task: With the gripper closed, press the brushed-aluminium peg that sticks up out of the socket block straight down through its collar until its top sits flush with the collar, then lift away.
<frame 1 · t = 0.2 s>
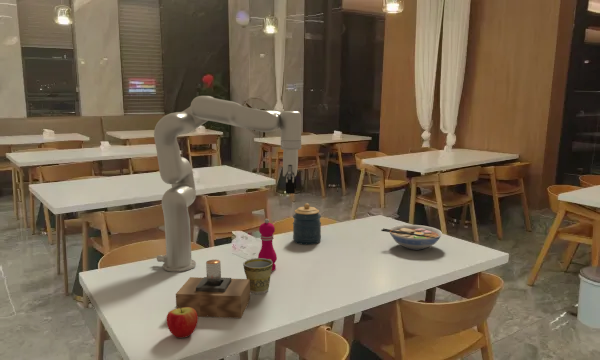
hand: (291, 190, 185), 31 cm above the table, fingers open, 9 cm apart
pepper mill: (267, 269, 191), on the table
ramen bowl: (414, 247, 218), on the table
apple: (182, 335, 139), on the table
peg: (213, 274, 155), point 11 cm above the table, slide at 6.5 cm
canister: (307, 241, 228), on the table
ceramic cup: (261, 289, 172), on the table
socket block: (214, 307, 157), on the table
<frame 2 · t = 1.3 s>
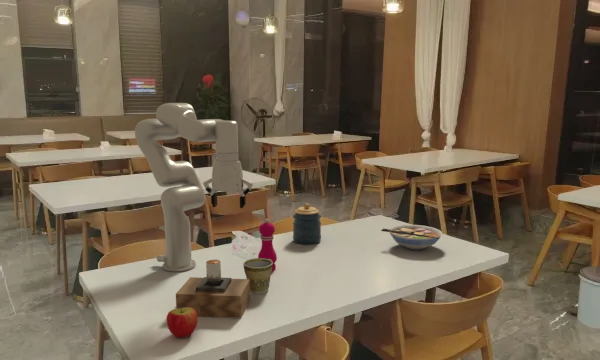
hand: (228, 206, 170), 28 cm above the table, fingers open, 9 cm apart
nothing on the table moved.
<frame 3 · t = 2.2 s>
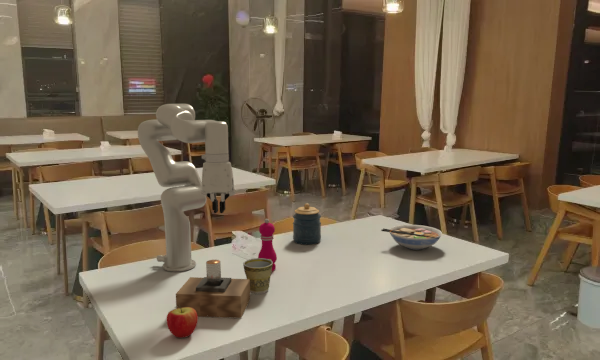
hand: (219, 212, 168), 27 cm above the table, fingers closed
nothing on the table moved.
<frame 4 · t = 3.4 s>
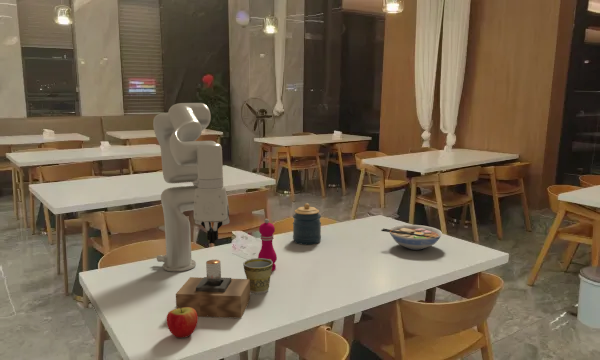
hand: (213, 242, 153), 21 cm above the table, fingers closed
nothing on the table moved.
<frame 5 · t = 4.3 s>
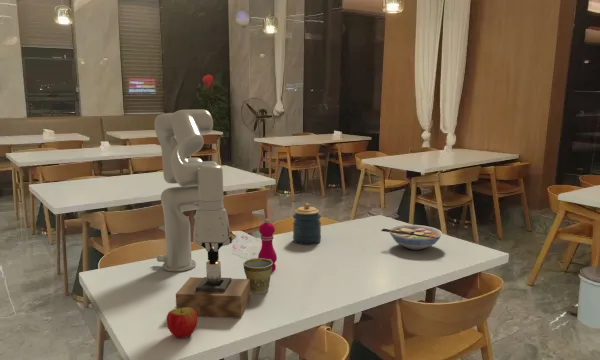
hand: (213, 262, 154), 15 cm above the table, fingers closed
peg: (213, 274, 155), point 11 cm above the table, slide at 6.3 cm, touching gripper
everything else where it was.
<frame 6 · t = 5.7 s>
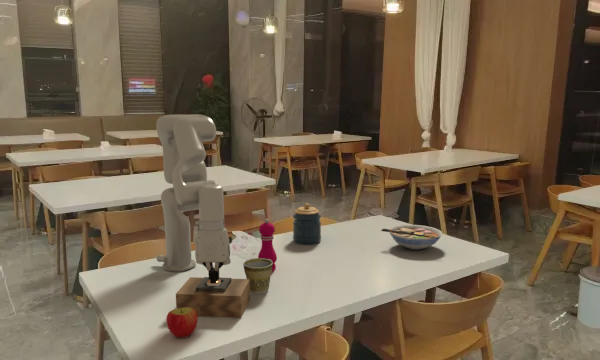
hand: (214, 281, 155), 9 cm above the table, fingers closed
peg: (214, 293, 156), point 5 cm above the table, slide at 0.1 cm, touching gripper
everything else where it was.
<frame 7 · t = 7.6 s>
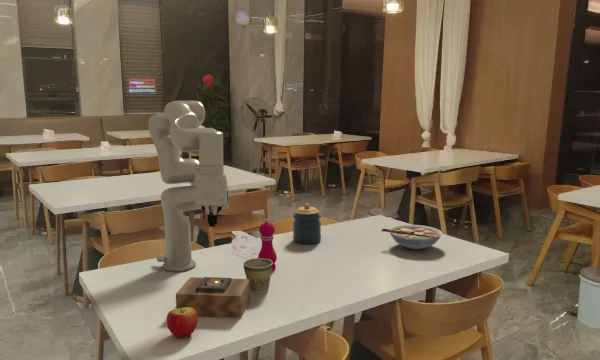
hand: (212, 225, 160), 25 cm above the table, fingers closed
peg: (214, 293, 156), point 5 cm above the table, slide at 0.0 cm
everything else where it was.
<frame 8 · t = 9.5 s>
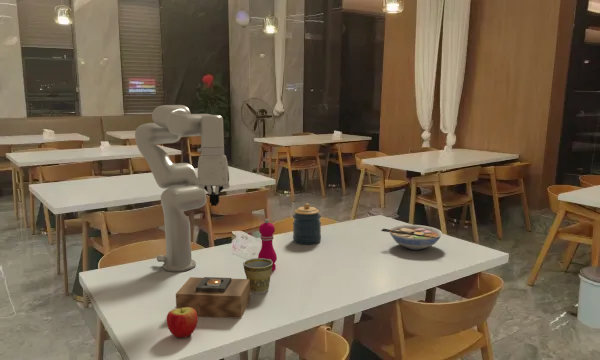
hand: (214, 204, 170), 29 cm above the table, fingers closed
nothing on the table moved.
at the end: peg slide at 0.0 cm; the gripper is holding nothing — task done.
